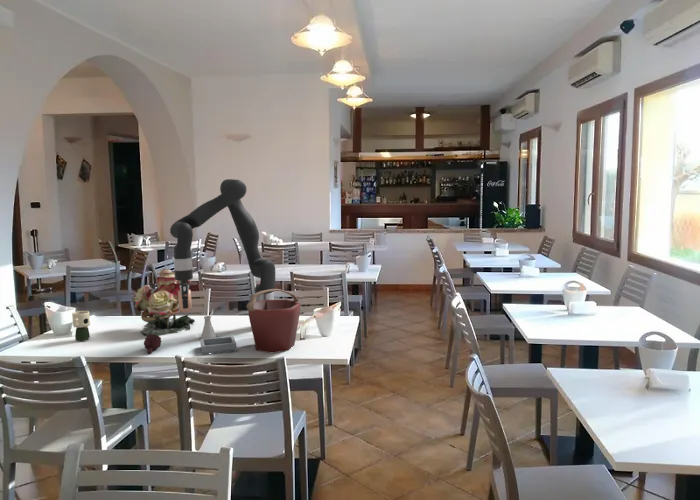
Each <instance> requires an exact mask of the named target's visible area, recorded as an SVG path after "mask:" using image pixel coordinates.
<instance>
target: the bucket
mask: <svg viewBox="0 0 700 500" xmlns="http://www.w3.org/2000/svg"><path fill="white" fill-rule="evenodd" d="M271 291H274V292H282V293H285V294H287V295H289V296H291V297H292V298H293V300H291V299H287V298H286V299H274V300H262V301H257V302H256V298H257V296H259V295H261V294H264V293H267V292H271ZM299 300H300V299H299V298H298V297H297V296H296V295H295V294H294V293H291V292H289V291H287V290H283V289H279V288H274V289H269V290H263V291H260V292H257V293H255V292H254V293H253V294H251V295H250V301H249V302H248V303H247V305H246V306H245V307H246V308H247V311H248V320H249V323H250V327H251V331H252V336H253V341H254V345H255V350H256V351H258V352H264V353H270V352H273V353H279V351H280V352H286V351H285V350H287V351H289V350H290V349H292V348H293V347H295V345H296V339H297V338H296V337H297V333H298V326H299V319H300V315H301V303H300V302H299ZM291 347H292V348H291Z"/></svg>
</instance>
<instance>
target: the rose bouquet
mask: <svg viewBox="0 0 700 500" xmlns="http://www.w3.org/2000/svg"><path fill="white" fill-rule="evenodd" d="M156 272H157V273H156V274H157V275H158V276H155V278H156V280H155V283H156V285H157V287H158V288H157V289H154V288H152V287H151V286H150V284H146V285H143V286H141V287H140V288H138V289H137V291H136V292H135V293H134V295H135V297H132V299H131V301H132V302H134V303H135V304H134V308H135V309H136V312H140V313H139V314H141V316H140V318H141V320H142V321H144V322H145V323H146V324H145V325H144V327H143V329H144V330H141V331H140V333H141V334H145V335H146V337H147V336H149V335H150V334H151V335H157V336H159V337H160V336H163V335H164V336H165V335H169V334H170V335H171V334H179V333H180V332H182V331H185V332H187V331H191V324H190V323H196V321H195V319H194V318H191V317H190V316H189V315H190V312H187V314H185V315H182V316H179V317H178V318H176V315H177V314H178V313H179V312H180V311H179V295H178V290H180V283H181V281H180V280H179V281H178V280H175V272H174V270H171V269H170V268H161V269H160V270H158V271H156ZM187 283H189V285H190V284H191V283H192V281H191V280H187ZM172 316H173V317H172ZM171 317H172V318H171Z"/></svg>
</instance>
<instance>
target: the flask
mask: <svg viewBox="0 0 700 500" xmlns="http://www.w3.org/2000/svg"><path fill="white" fill-rule="evenodd" d="M211 318H212V315H205V316H203V319H204V325H203V328H202V332H201V335H200V340H201V339H207V338H217V333H216V332H215V329H214V326H213V325H212V321H211Z"/></svg>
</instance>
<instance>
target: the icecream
mask: <svg viewBox="0 0 700 500" xmlns="http://www.w3.org/2000/svg"><path fill="white" fill-rule="evenodd" d="M143 346H144V348H145V349H146V350H147V351H146V354H148V355H151V354H152V353H153V351H155V350H157V349H158V348H160V347H161V346H162V338H161V337H160V335H159V336H157V335H151V334H150V335H149V336H147V335H146V337H145V339H144V341H143Z"/></svg>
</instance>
